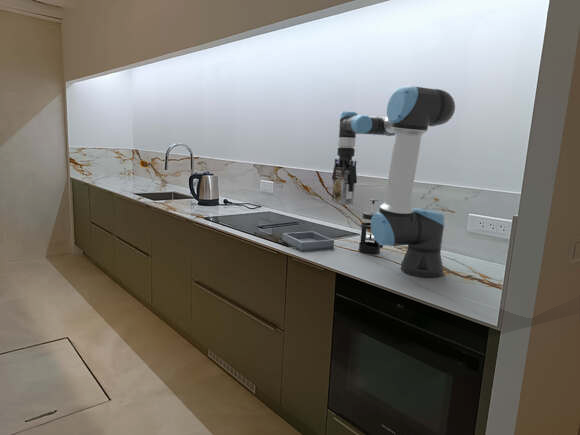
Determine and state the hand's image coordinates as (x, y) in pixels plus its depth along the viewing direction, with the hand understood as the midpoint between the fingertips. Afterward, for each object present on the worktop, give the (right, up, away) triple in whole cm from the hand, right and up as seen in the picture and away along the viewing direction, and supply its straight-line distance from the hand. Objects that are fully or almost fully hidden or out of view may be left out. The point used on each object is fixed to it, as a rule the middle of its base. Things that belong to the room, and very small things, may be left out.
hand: (342, 197), depth 186 cm
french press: (+11, -24, -9) cm, 28 cm away
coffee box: (0, -3, 0) cm, 3 cm away
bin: (-16, -22, -3) cm, 27 cm away
